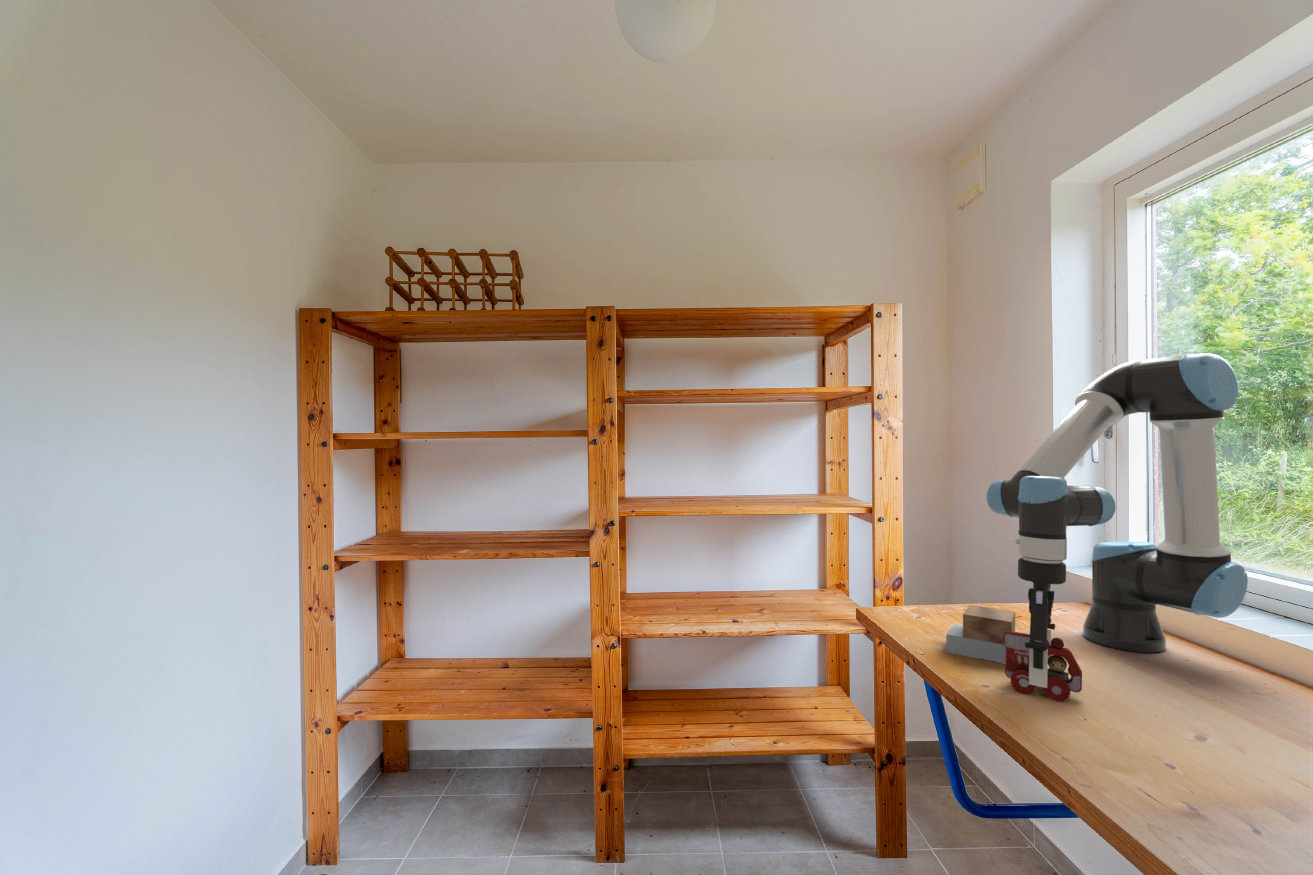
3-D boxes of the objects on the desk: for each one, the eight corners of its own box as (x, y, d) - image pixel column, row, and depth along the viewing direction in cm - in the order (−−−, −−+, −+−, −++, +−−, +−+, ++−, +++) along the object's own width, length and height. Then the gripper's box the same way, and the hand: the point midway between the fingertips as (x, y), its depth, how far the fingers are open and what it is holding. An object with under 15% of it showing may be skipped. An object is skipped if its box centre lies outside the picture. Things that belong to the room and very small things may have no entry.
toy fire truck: (1082, 707, 104) (1083, 647, 104) (1001, 690, 111) (1001, 634, 111) (1081, 693, 110) (1081, 637, 110) (1003, 677, 117) (1004, 624, 117)
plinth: (1035, 656, 128) (1035, 637, 128) (1032, 669, 121) (1032, 649, 121) (953, 641, 138) (953, 623, 138) (946, 652, 130) (946, 634, 130)
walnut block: (1015, 634, 130) (1015, 611, 130) (1011, 645, 123) (1011, 621, 123) (969, 626, 136) (969, 604, 136) (962, 637, 128) (963, 614, 128)
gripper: (1023, 547, 123) (1022, 650, 123) (1011, 567, 102) (1010, 690, 102) (1067, 552, 118) (1066, 658, 118) (1064, 573, 98) (1063, 702, 98)
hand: (1040, 673), depth 110 cm, fingers open, 13 cm apart
